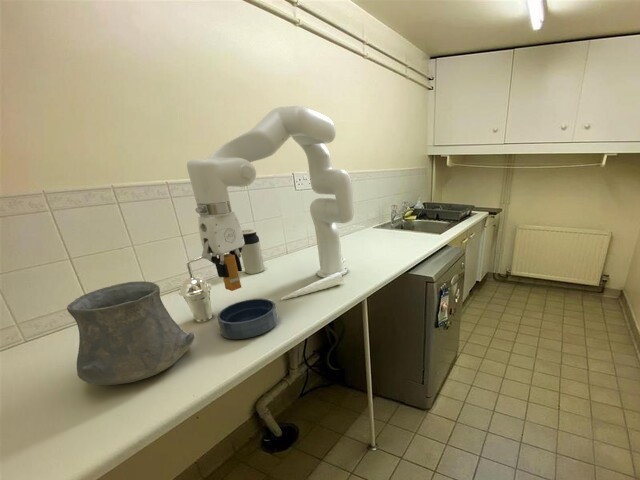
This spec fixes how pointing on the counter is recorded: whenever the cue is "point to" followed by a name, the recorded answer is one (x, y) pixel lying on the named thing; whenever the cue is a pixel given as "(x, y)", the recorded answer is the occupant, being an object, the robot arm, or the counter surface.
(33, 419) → the counter surface
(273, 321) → the bowl
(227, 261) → the supplement box
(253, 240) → the travel mug
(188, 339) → the vessel
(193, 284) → the cup with straw
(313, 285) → the unicorn horn
